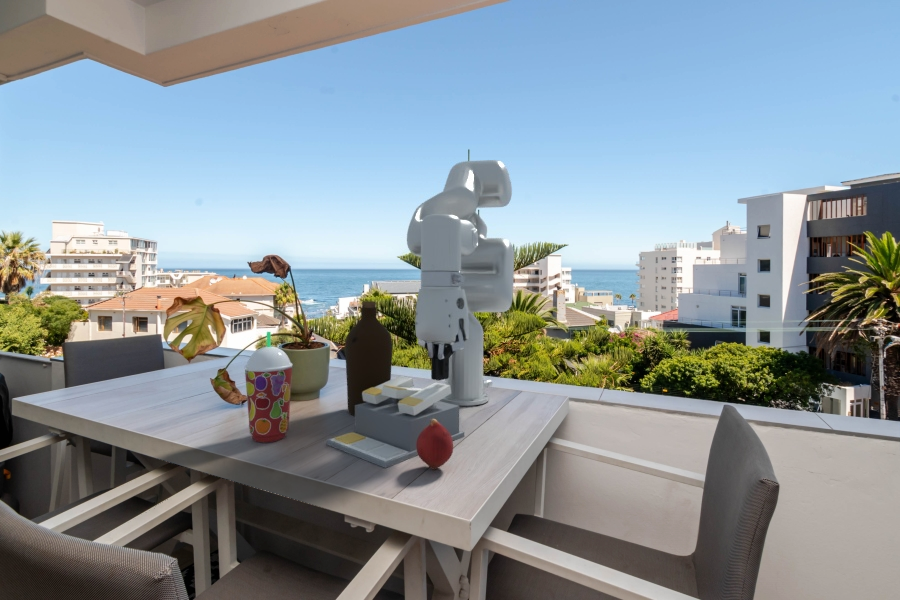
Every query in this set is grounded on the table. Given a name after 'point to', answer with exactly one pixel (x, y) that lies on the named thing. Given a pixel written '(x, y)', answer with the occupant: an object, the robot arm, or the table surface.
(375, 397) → the rocker
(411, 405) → the rocker
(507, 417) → the table surface
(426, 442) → the onion
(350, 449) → the switch unit
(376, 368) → the olive oil
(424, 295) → the robot arm
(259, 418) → the smoothie
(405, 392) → the rocker
